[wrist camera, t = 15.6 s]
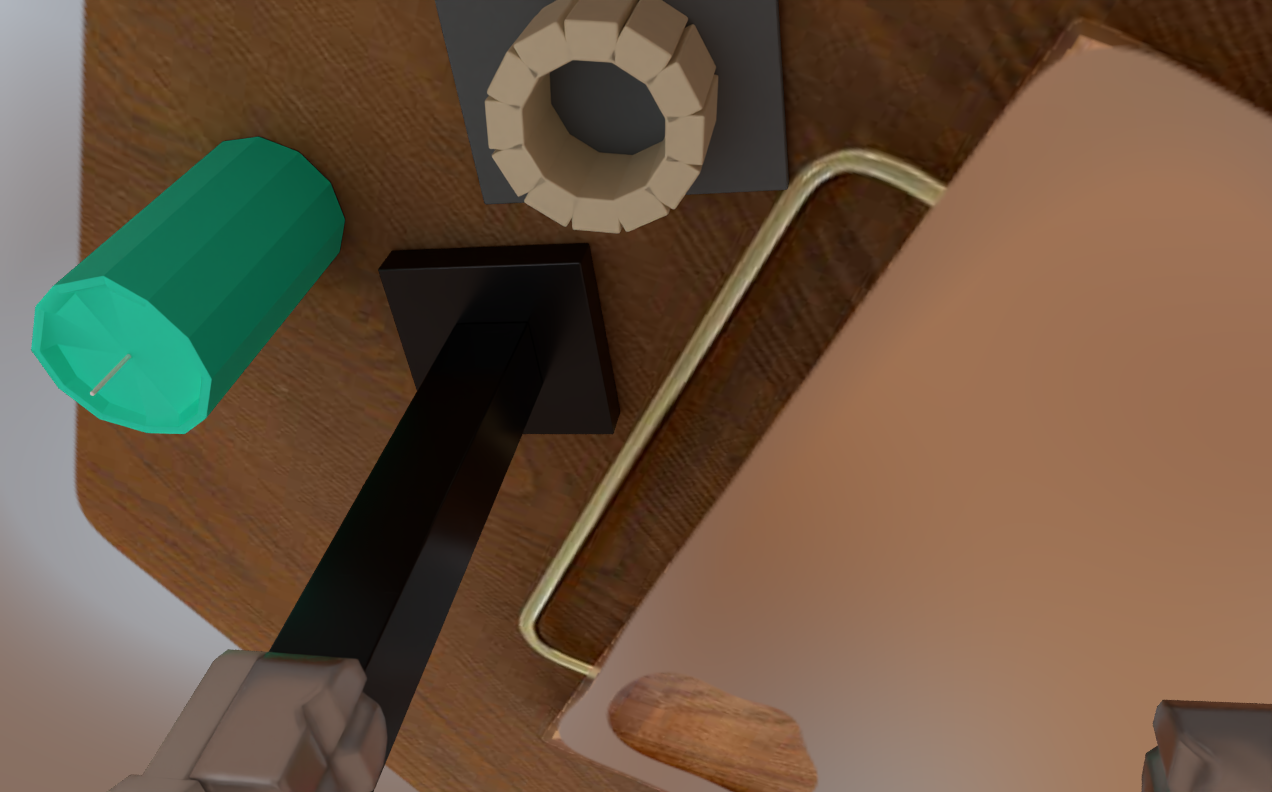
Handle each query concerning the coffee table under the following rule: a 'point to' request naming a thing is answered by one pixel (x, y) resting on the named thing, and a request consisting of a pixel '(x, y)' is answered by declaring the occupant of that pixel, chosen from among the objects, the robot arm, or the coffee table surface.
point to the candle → (190, 288)
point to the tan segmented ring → (568, 168)
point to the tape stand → (453, 446)
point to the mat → (635, 91)
